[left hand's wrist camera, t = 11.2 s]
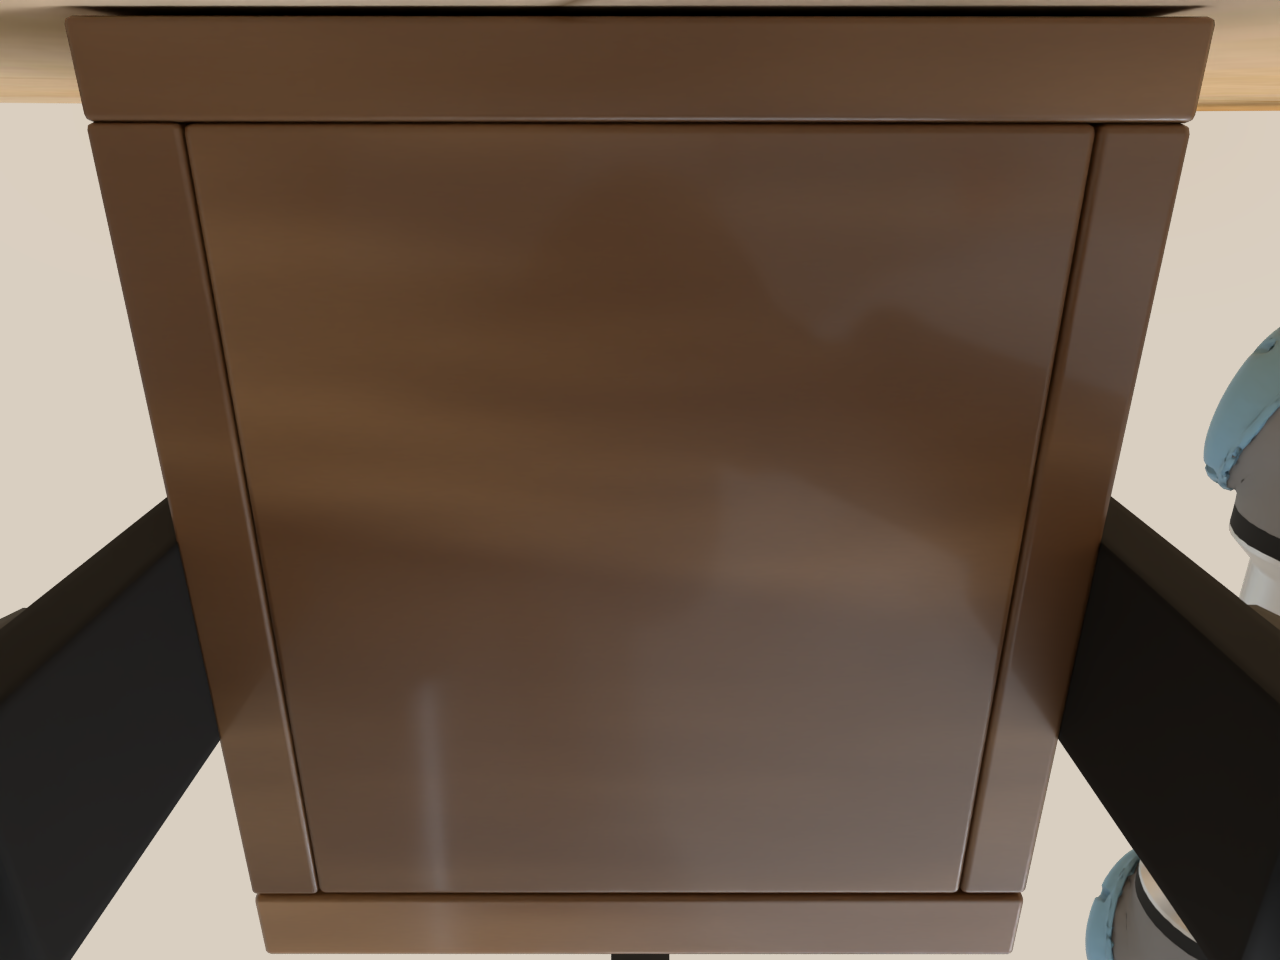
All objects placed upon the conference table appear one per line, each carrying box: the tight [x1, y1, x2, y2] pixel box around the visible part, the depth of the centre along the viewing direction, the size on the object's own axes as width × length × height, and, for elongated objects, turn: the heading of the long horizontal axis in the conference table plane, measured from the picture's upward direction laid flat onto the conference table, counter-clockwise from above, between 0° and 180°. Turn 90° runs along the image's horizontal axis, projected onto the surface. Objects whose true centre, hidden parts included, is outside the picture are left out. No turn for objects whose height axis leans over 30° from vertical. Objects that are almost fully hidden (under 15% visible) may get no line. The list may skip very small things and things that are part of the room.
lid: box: [256, 886, 1023, 954], centre depth 20 cm, size 15×10×8 cm
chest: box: [65, 16, 1215, 894], centre depth 16 cm, size 14×10×10 cm
